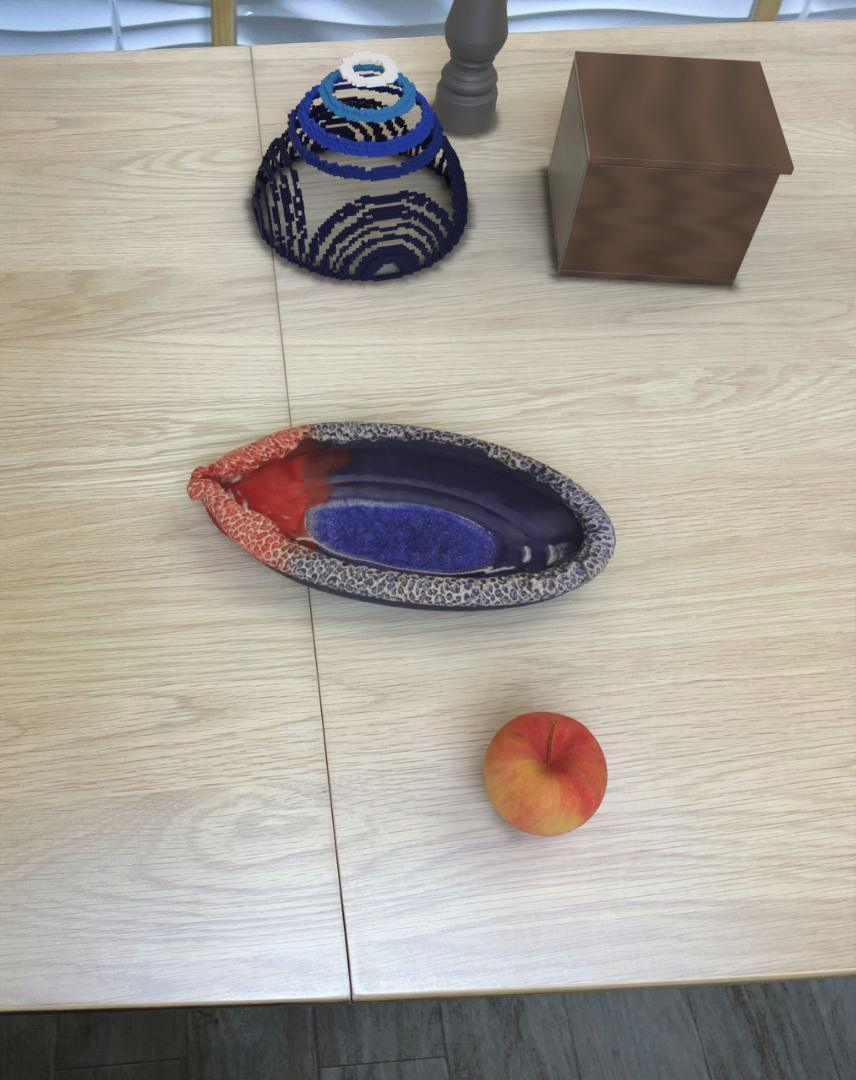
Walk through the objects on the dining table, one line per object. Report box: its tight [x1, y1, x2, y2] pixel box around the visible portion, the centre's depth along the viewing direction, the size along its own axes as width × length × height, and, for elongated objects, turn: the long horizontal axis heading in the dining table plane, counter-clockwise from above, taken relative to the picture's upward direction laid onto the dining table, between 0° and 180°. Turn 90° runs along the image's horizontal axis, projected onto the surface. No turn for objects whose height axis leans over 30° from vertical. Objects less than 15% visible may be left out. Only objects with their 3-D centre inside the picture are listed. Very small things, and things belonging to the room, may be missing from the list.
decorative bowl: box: [251, 51, 469, 283], centre depth 98 cm, size 20×20×14 cm
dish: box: [186, 421, 617, 612], centre depth 79 cm, size 16×31×5 cm, turn 78°
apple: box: [482, 711, 609, 837], centre depth 66 cm, size 7×7×8 cm
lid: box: [573, 50, 795, 176], centre depth 93 cm, size 16×16×1 cm
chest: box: [547, 58, 781, 287], centre depth 98 cm, size 16×16×12 cm
